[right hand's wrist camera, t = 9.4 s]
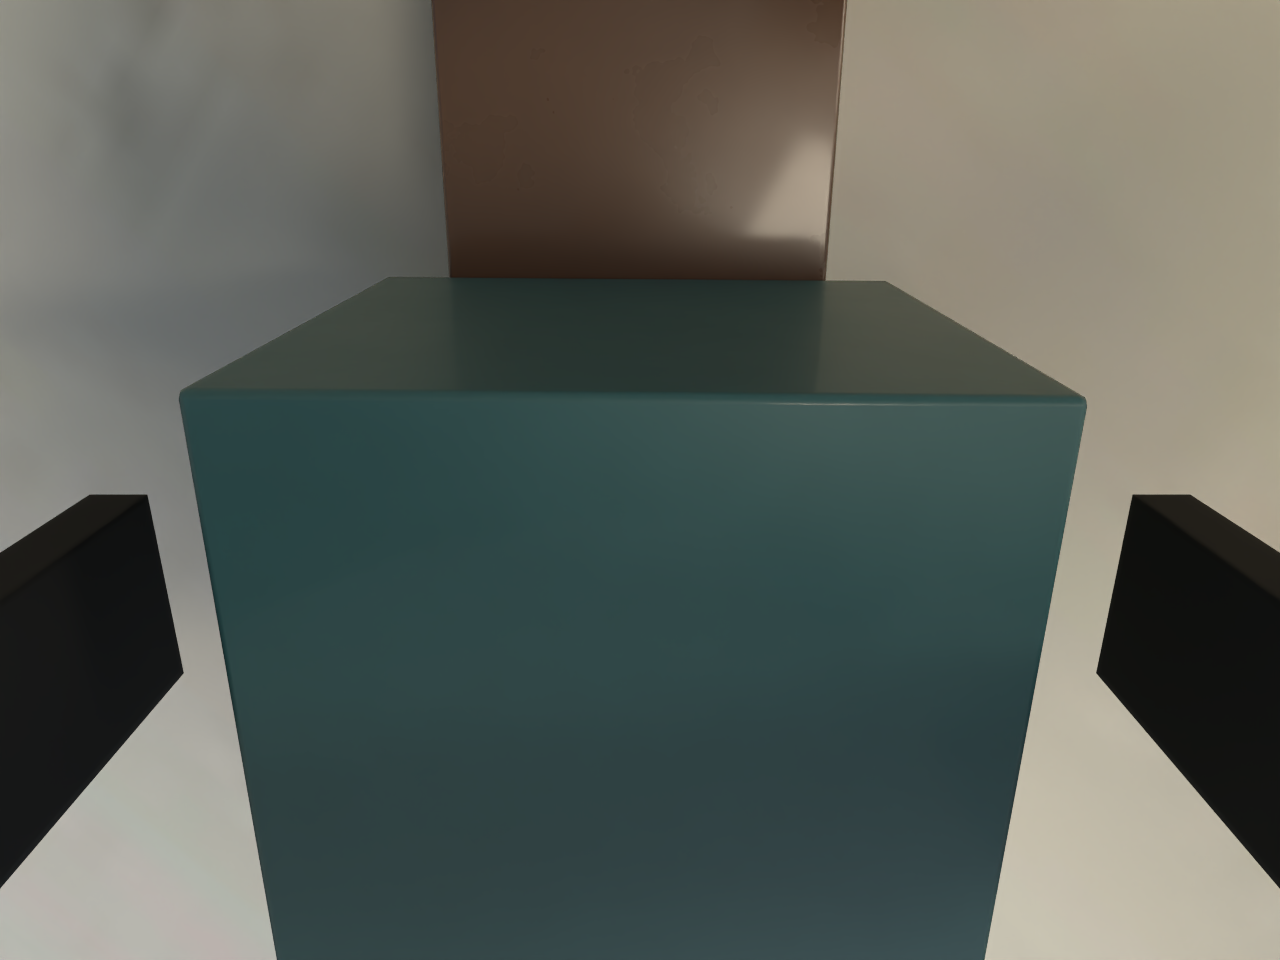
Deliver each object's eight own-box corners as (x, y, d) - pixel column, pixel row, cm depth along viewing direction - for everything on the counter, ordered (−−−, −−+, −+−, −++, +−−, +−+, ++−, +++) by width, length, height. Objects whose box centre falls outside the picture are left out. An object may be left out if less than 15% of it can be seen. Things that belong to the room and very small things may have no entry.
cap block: (385, 276, 14) (172, 390, 8) (889, 280, 14) (1093, 397, 8) (419, 658, 17) (278, 987, 10) (850, 662, 17) (981, 992, 10)
